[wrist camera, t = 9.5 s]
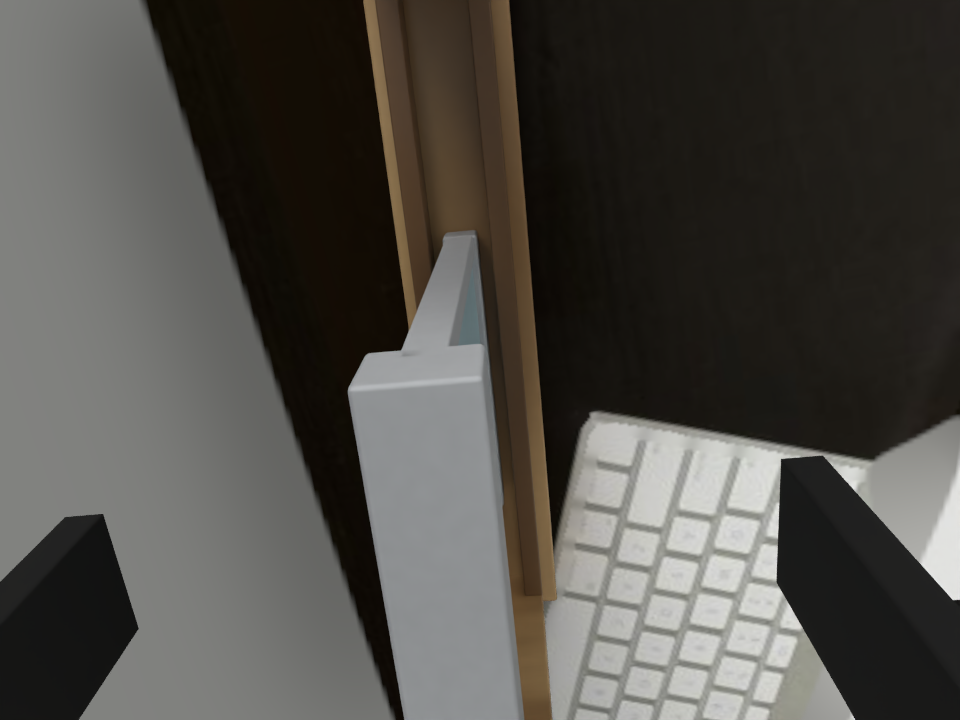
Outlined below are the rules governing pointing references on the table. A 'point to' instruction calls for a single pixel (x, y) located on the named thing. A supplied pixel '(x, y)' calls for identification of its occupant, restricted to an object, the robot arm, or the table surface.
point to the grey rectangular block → (441, 501)
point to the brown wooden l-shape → (502, 245)
